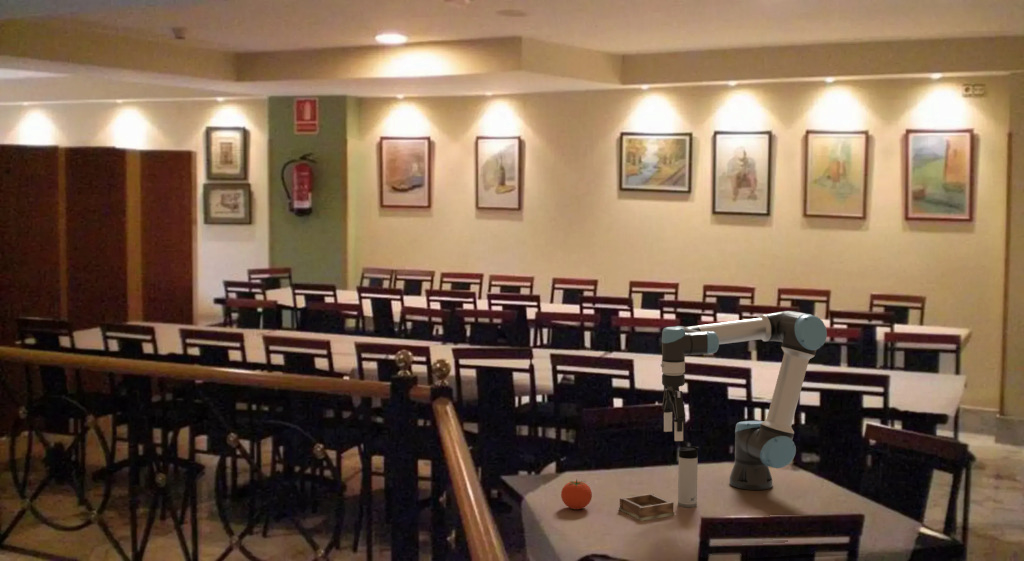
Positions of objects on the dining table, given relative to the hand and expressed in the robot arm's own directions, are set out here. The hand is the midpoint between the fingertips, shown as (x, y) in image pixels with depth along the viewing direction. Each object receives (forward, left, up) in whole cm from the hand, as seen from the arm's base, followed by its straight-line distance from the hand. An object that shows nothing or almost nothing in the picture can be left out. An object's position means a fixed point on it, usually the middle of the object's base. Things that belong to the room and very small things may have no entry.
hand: (673, 436), depth 351 cm
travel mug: (-5, +2, -24) cm, 24 cm away
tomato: (+33, +1, -24) cm, 41 cm away
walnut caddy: (+11, +8, -23) cm, 27 cm away
